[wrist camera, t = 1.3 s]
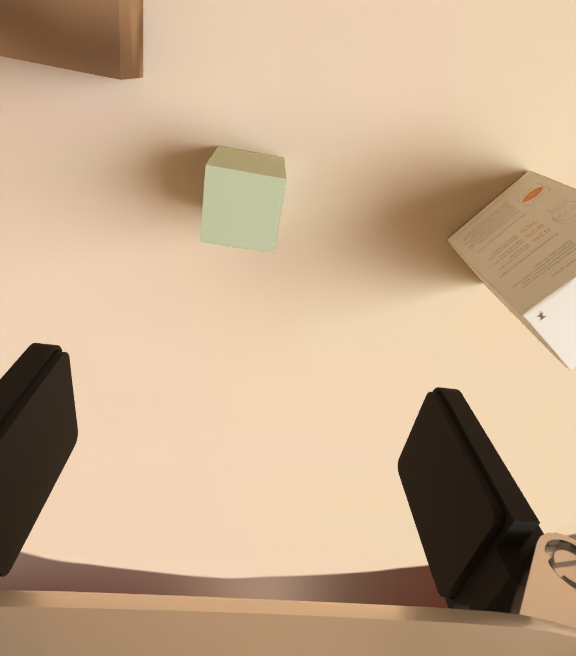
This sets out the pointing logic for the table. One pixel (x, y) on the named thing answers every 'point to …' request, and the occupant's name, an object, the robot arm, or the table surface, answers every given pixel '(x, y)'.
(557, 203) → the small box
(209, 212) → the sage block
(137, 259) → the table surface
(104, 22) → the walnut base
